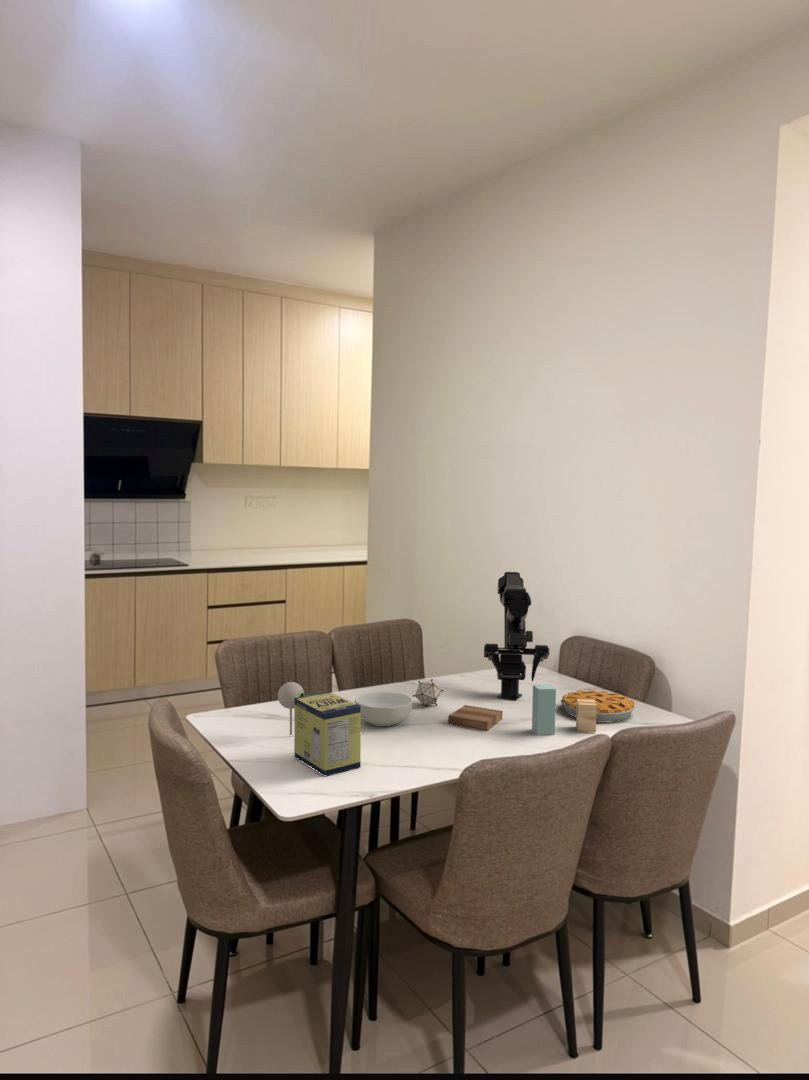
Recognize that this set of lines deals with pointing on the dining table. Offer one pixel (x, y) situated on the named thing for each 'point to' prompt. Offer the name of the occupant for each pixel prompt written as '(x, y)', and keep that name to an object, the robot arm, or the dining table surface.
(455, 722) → the walnut slab
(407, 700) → the cereal bowl
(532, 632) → the robot arm
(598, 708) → the pie
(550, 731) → the teal block
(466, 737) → the dining table surface
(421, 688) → the wireframe polyhedron model
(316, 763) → the protein box
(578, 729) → the oak block
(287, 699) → the lollipop
